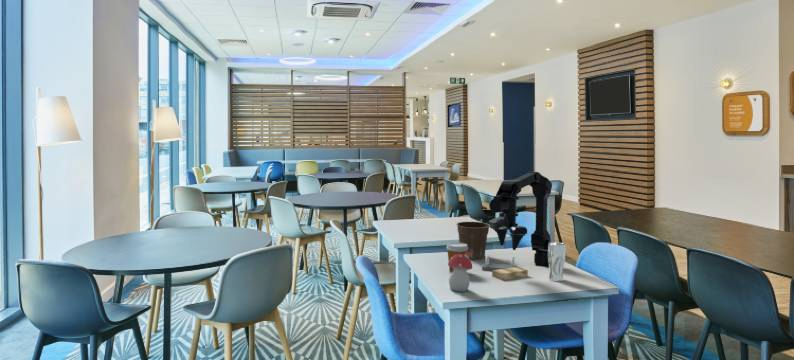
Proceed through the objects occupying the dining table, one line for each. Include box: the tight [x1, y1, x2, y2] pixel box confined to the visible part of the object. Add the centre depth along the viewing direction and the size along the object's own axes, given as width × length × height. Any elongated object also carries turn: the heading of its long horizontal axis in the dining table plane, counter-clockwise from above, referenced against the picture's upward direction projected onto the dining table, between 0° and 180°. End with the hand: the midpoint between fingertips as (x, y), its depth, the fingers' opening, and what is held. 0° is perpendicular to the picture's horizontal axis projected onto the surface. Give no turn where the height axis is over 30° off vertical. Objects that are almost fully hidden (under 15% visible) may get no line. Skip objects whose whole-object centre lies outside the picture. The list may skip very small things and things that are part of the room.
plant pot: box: [456, 221, 491, 260], centre depth 237 cm, size 16×16×16 cm
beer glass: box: [547, 241, 567, 282], centre depth 199 cm, size 7×7×15 cm
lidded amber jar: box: [446, 242, 468, 273], centre depth 210 cm, size 10×10×12 cm
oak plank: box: [491, 266, 529, 281], centre depth 204 cm, size 14×6×3 cm, turn 117°
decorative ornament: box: [447, 252, 473, 293], centre depth 184 cm, size 9×6×15 cm
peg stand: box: [481, 254, 518, 272], centre depth 215 cm, size 15×7×6 cm, turn 76°
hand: (507, 247), depth 204 cm, fingers open, 9 cm apart
